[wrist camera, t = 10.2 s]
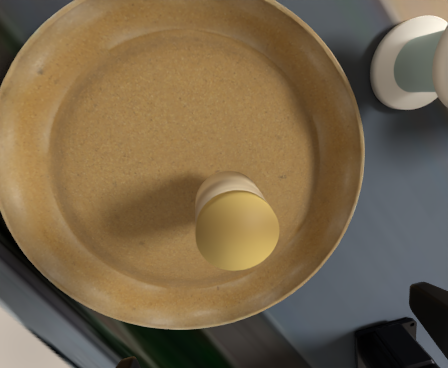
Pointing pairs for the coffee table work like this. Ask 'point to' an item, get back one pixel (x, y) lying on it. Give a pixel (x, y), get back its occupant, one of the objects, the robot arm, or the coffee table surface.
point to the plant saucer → (174, 152)
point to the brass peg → (234, 222)
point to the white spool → (412, 64)
